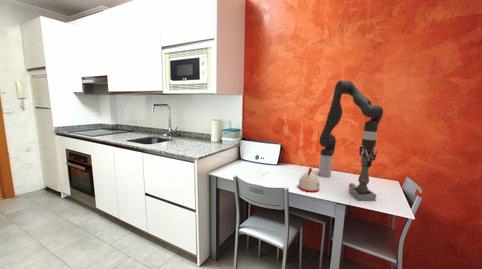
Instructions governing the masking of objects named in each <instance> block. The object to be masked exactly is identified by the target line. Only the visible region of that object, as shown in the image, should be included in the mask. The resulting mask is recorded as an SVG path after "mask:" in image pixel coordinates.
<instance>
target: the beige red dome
mask: <svg viewBox="0 0 482 269" xmlns="http://www.w3.org/2000/svg"><path fill="white" fill-rule="evenodd" d="M312 171H313V168H312V166H311V167H310V166H309V169H308V172H305V173H303V175H302V176H301V177H300V178H299V180H298V187H297V188H298V189H299V190H300V191H302V192H304V191H305V193H309V192H310V193H309V194H312V193H313V194H314V193H317V192H319V191H320V180H319V178H318V177H317V176H316V174H315V173H314V172H312Z"/></svg>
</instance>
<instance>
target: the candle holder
mask: <svg viewBox="0 0 482 269" xmlns="http://www.w3.org/2000/svg"><path fill="white" fill-rule="evenodd" d="M360 158H361V159H360V162H361V161H362V163H360V167H361V172H360V174H359V176H358V178H357V179H358V180H357V181H358V182H359V184H358V185H357V186H358V187H357V192H358V193H360V194H367V193H368V189H369V187H368V184H369V183H370V175H369V169H370V168H371V167H368V166H367V161H368V157H367V156H366V155H362V157H360ZM369 158H370V157H369Z"/></svg>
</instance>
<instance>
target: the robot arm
mask: <svg viewBox="0 0 482 269" xmlns="http://www.w3.org/2000/svg"><path fill="white" fill-rule="evenodd" d="M333 91H334V92H333V95H332V96H333V97H332V100H331V104H330V108H329V110H328V114H327V117H326V120H325V124H324V127H323V130H322V132H321V133H320V136H319V139H318V141H319V145H320V146H321V147H324V148H322V149H321V150H320V153H319V154H320V156H319V166H318V175H319V176H320V177H324V178H330V177H331V176H332V167H333V166H332V165H333V157H334V153H335V148H336V141H337V140H336V137H335V135H334V134H331V133H332V131H333V130H334V129H335V128H336V126H338V124H339V123H340V122H341V119H342V117H343V116H342V115H343V108H342V107H343V106H342V103H341V99H342V95H348V96H351V97H352V101H353V103H354V104H355V105H356V106H357V107H358V108H359V109H360V111H361V113H362V115H363V116H364V117H367V118H370V120H366V121H365V122H364V126H363V127H364V128H363V132H362V139H361V146H359V150H358V151H359V156H360V158H362V155H366V156H367V157H368V161H367V166H368V167H370V168H371V167H372V163H373V161H374V162H375V161H376V157H377V153H378V151H375V150H374V148H375V147H376V146H377V138H378V128H379V124H380V122H381V120H382V118H383V115H384V109H383V107H382V106H381V105H372V102H371V100H370V99H368V97H366V96H365V95H364V94H362V92H361V91H360V90H359V88H357V86H356V85H355V83H354V82H352V81H351V80H342V79H339V80H338V81H337V82H336V84H335V86H334V90H333ZM369 157H370V158H369ZM360 164H362V161H361V160H360Z"/></svg>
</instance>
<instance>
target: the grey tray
mask: <svg viewBox="0 0 482 269" xmlns="http://www.w3.org/2000/svg"><path fill="white" fill-rule="evenodd" d="M357 187H358V185H355V184H354V183H352V182H351V183H349V184H348V194H349V193H350V194H349V195H351V197H352V198H354V199H356V200H357V202H376V199H377V194H375V193H374V192H373V191H372V190H370V189H369V188H368V193H367V194H360V193H358V192H357Z"/></svg>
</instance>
